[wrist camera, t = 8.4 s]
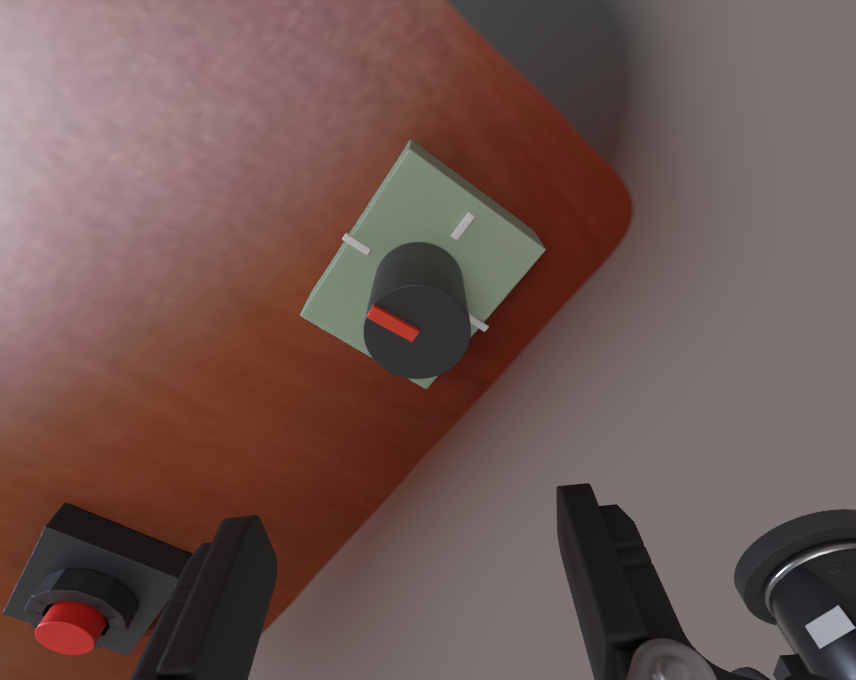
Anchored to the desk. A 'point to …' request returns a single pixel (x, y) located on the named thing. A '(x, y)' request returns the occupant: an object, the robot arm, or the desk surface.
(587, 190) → the desk surface
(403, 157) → the dial panel
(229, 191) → the desk surface
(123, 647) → the button base
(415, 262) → the dial
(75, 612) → the button
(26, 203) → the desk surface
